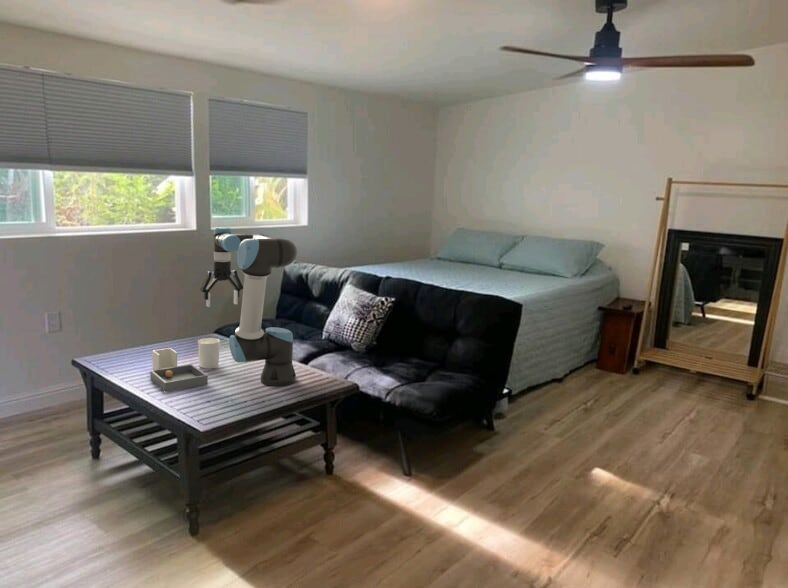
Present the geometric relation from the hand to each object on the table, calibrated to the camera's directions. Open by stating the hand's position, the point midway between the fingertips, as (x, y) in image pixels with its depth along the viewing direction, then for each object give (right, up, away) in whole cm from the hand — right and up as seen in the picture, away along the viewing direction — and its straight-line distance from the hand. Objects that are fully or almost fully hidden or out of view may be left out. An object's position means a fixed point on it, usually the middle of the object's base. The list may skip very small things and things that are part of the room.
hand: (222, 305), depth 265 cm
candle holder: (-4, -28, -5) cm, 29 cm away
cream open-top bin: (-21, -29, -16) cm, 39 cm away
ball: (-15, -29, -26) cm, 41 cm away
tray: (-10, -32, -28) cm, 44 cm away
